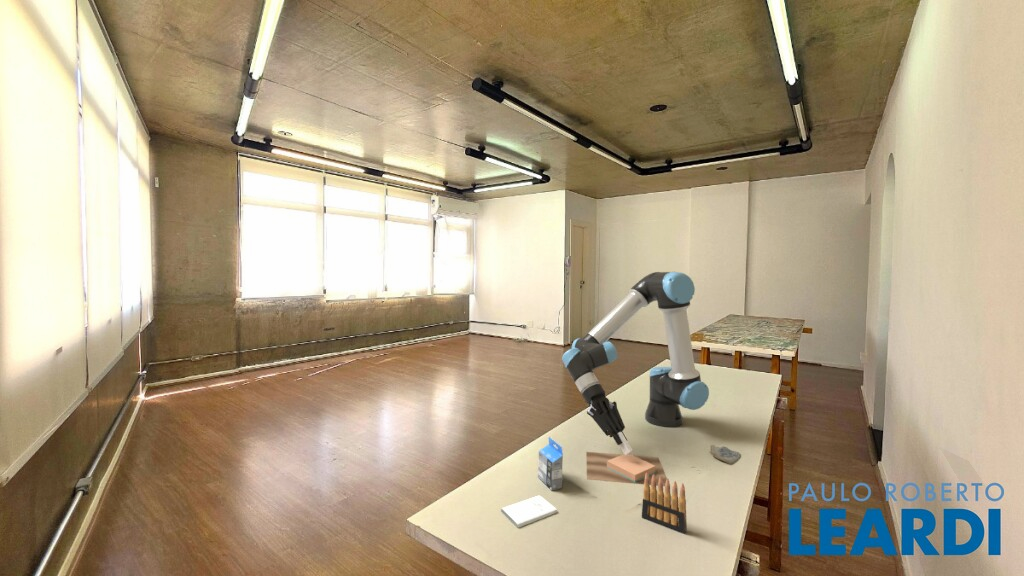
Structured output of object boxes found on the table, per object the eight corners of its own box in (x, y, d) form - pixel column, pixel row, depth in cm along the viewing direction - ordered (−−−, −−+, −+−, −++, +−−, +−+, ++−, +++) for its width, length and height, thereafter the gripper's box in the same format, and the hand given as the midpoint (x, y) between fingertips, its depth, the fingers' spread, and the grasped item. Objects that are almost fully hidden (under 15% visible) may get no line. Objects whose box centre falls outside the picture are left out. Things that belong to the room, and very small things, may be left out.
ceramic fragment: (713, 443, 147) (742, 448, 140) (714, 451, 147) (743, 457, 139) (700, 451, 140) (730, 457, 133) (701, 460, 140) (731, 467, 132)
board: (586, 454, 140) (586, 451, 140) (658, 460, 136) (658, 457, 136) (586, 482, 122) (586, 479, 122) (670, 490, 117) (670, 486, 117)
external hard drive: (500, 513, 107) (539, 499, 113) (517, 530, 100) (557, 514, 106) (500, 507, 107) (539, 494, 113) (517, 524, 100) (557, 508, 106)
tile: (606, 460, 129) (635, 474, 120) (627, 452, 135) (655, 465, 126) (606, 467, 129) (634, 482, 120) (627, 459, 135) (655, 472, 126)
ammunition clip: (641, 517, 104) (642, 472, 104) (643, 514, 106) (644, 469, 105) (684, 534, 98) (685, 486, 97) (686, 530, 99) (687, 482, 99)
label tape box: (537, 477, 125) (537, 438, 124) (548, 474, 126) (549, 436, 126) (551, 491, 117) (551, 449, 116) (563, 488, 118) (563, 447, 118)
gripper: (597, 391, 147) (634, 452, 134) (571, 397, 139) (608, 463, 126) (609, 379, 142) (648, 442, 129) (583, 386, 134) (622, 453, 122)
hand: (628, 452), depth 128 cm, fingers closed
